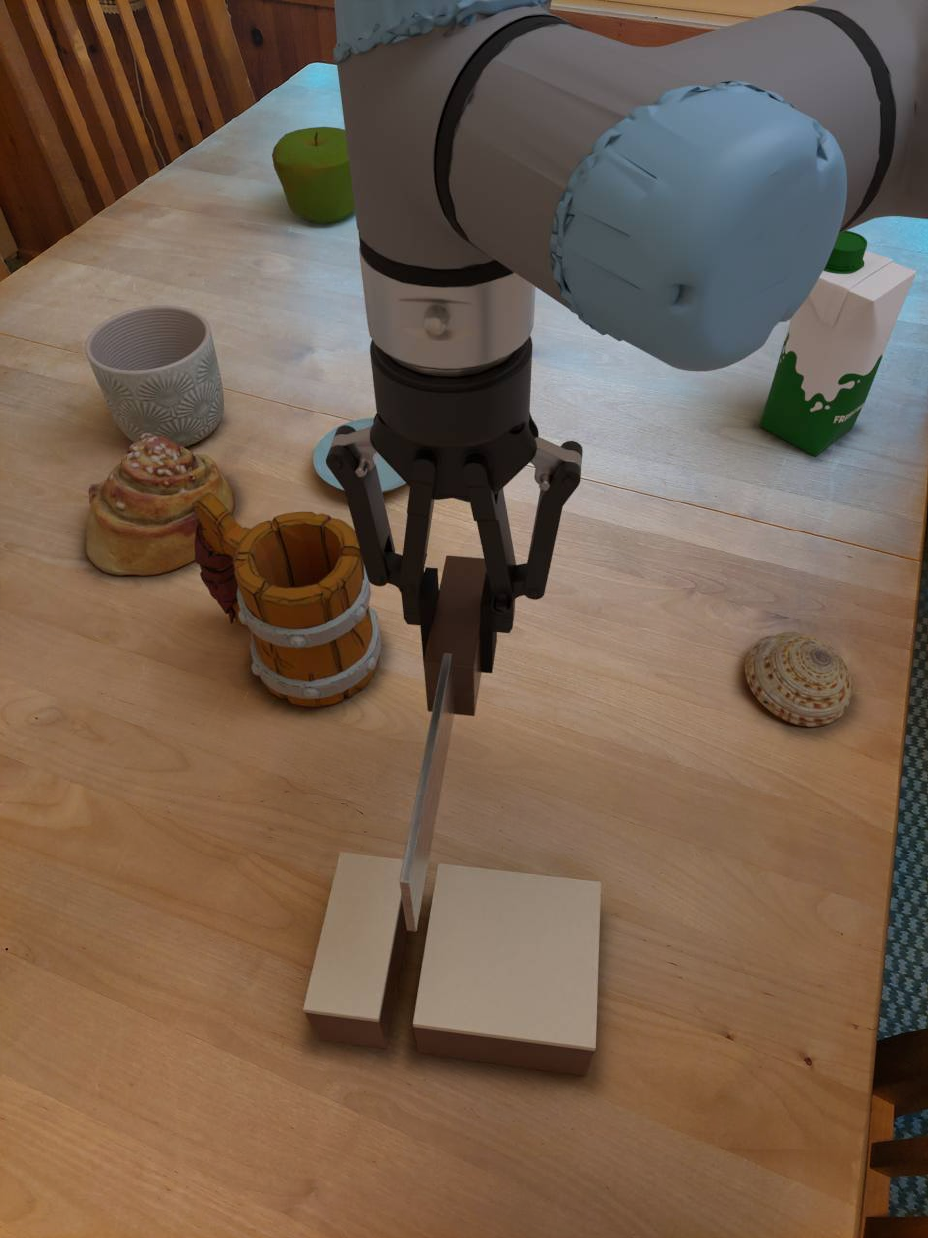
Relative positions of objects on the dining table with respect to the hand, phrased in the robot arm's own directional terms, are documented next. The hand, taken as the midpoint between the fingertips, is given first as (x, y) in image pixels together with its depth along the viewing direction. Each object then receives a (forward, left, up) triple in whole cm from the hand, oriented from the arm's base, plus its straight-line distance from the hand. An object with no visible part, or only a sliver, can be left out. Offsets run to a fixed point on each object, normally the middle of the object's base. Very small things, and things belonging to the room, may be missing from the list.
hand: (460, 653), depth 59 cm
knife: (-7, 0, -1) cm, 7 cm away
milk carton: (+46, -31, -15) cm, 58 cm away
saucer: (+34, +14, -15) cm, 40 cm away
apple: (+90, +32, -15) cm, 97 cm away
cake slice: (-16, +4, -14) cm, 22 cm away
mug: (+10, +16, -15) cm, 24 cm away
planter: (+39, +37, -15) cm, 56 cm away
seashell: (+11, -26, -15) cm, 32 cm away
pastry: (+24, +33, -15) cm, 43 cm away
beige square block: (-16, -5, -14) cm, 22 cm away
